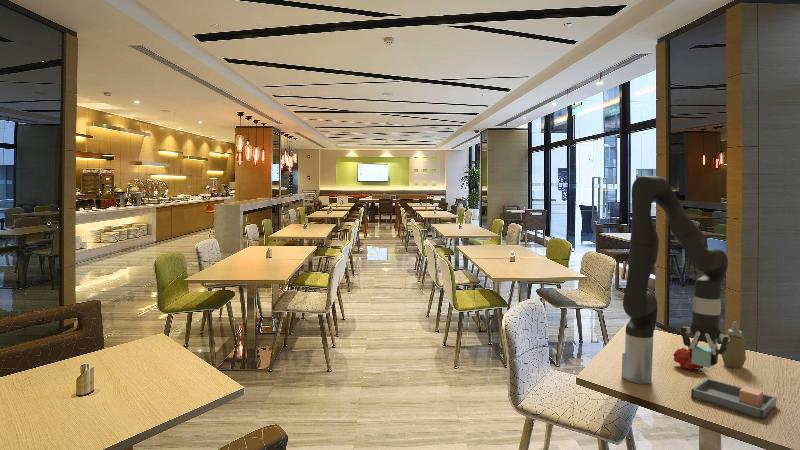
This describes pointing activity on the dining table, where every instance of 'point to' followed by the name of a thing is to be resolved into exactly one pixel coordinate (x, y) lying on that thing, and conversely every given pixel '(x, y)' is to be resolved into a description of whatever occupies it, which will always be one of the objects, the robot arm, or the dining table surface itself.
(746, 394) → the terracotta block
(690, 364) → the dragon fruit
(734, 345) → the squeeze bottle
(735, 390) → the tray
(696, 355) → the teal block
